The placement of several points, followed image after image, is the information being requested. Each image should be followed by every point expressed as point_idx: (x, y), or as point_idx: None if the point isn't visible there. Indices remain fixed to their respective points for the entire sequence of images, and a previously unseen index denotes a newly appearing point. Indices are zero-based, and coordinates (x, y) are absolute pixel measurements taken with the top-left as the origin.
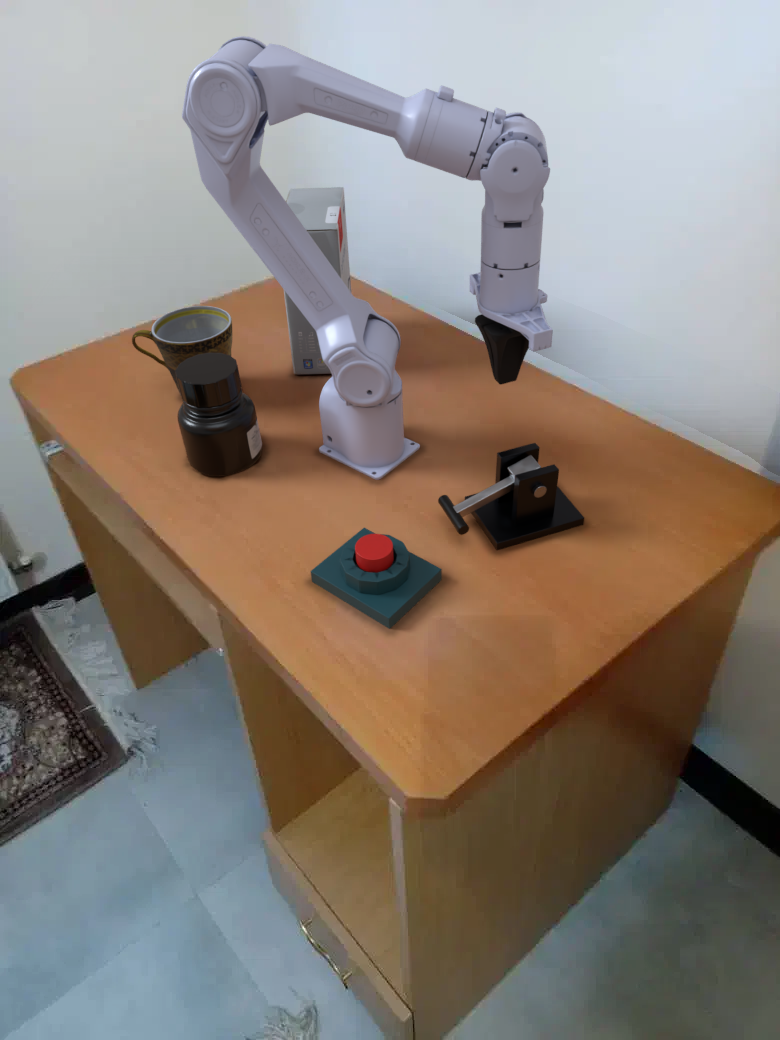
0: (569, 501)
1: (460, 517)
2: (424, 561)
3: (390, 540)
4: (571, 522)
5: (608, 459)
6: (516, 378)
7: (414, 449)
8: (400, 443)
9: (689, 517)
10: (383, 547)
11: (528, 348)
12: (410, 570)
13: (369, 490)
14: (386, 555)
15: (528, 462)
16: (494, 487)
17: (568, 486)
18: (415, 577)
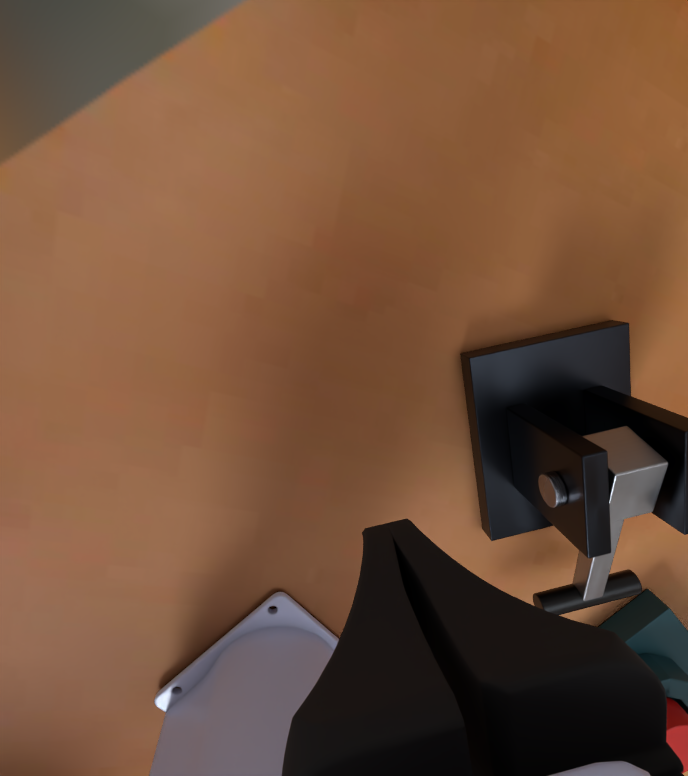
0: (573, 338)
1: (618, 591)
2: (643, 631)
3: (673, 728)
4: (629, 353)
5: (415, 170)
6: (412, 523)
7: (295, 608)
8: (317, 663)
9: (667, 64)
10: (685, 739)
11: (497, 588)
12: (654, 652)
13: None
14: None
15: (633, 484)
16: None
17: (486, 307)
18: (671, 646)
